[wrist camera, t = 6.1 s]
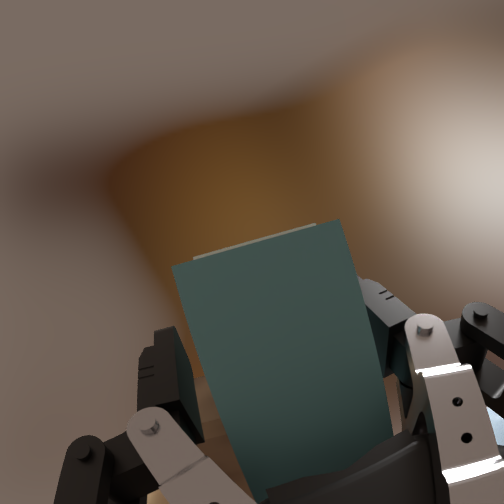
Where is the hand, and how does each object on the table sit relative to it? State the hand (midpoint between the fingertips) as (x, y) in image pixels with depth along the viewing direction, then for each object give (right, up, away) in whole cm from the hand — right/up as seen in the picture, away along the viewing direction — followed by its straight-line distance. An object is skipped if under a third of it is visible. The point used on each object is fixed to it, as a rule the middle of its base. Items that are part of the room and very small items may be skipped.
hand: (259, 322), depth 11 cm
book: (+1, -5, +5) cm, 8 cm away
